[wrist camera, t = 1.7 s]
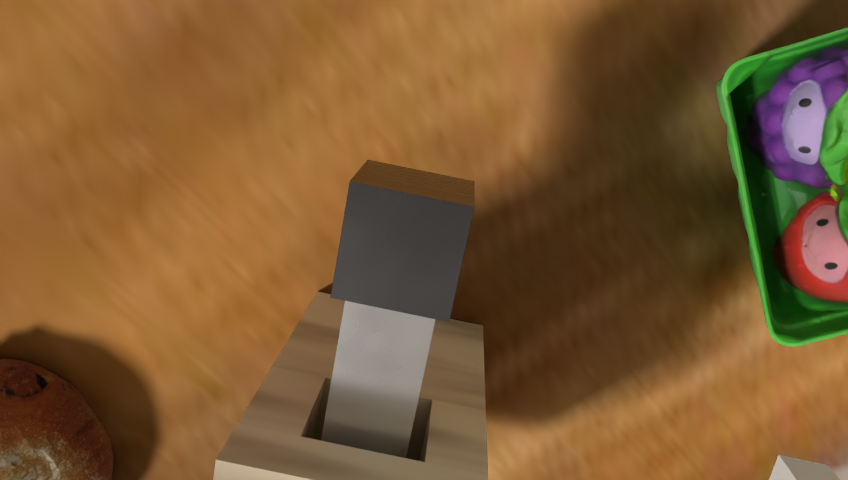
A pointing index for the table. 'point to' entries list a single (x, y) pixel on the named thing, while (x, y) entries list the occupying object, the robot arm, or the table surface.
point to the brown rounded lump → (48, 428)
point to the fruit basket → (794, 181)
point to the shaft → (392, 298)
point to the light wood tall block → (307, 401)
